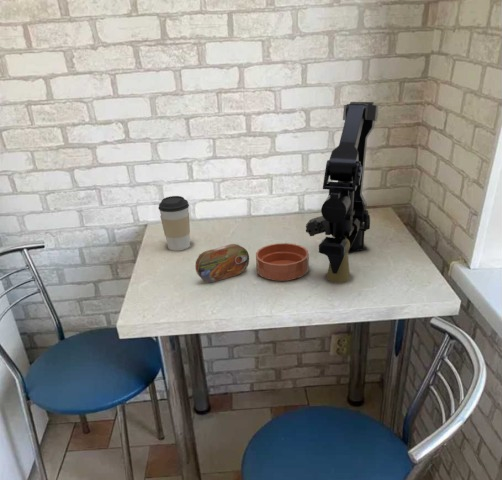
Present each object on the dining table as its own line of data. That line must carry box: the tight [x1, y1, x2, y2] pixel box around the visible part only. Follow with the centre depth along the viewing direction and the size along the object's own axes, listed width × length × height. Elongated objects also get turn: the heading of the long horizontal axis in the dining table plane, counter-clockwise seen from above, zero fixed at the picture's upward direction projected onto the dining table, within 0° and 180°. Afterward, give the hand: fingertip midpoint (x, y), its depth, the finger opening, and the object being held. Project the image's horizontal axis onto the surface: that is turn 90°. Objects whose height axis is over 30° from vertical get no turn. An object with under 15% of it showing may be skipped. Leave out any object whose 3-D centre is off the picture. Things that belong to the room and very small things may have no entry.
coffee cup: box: [158, 195, 191, 251], centre depth 160 cm, size 9×9×15 cm
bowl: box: [255, 242, 310, 282], centre depth 144 cm, size 14×14×5 cm
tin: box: [194, 243, 250, 283], centre depth 142 cm, size 15×3×8 cm, turn 117°
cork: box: [326, 238, 351, 284], centre depth 137 cm, size 6×6×11 cm
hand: (338, 266), depth 139 cm, fingers open, 8 cm apart
